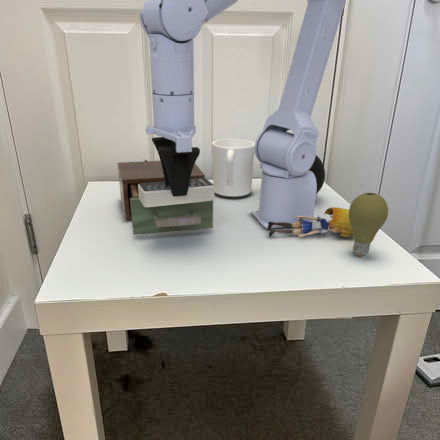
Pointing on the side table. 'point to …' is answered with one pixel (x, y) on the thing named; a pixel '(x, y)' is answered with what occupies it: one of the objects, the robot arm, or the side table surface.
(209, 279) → the side table surface
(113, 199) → the side table surface
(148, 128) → the robot arm
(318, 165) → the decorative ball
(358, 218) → the light bulb
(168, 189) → the multiport hub
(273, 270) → the side table surface
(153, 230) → the drawer
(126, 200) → the cabinet
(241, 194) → the mug
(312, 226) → the figurine
